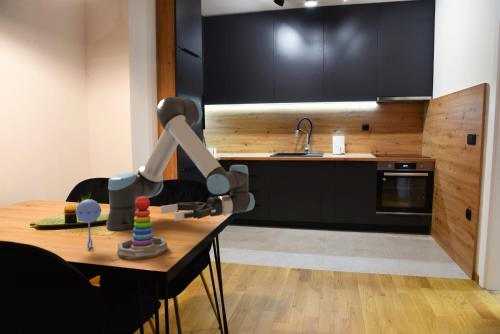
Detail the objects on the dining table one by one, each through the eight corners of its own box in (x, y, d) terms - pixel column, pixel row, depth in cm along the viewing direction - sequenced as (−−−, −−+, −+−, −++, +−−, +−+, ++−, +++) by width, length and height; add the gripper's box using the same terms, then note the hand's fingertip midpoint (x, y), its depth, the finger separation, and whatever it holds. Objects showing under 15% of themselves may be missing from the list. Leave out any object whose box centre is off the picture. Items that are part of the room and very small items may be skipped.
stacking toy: (148, 253, 126) (146, 199, 124) (126, 251, 128) (124, 198, 126) (158, 245, 134) (156, 194, 132) (138, 244, 136) (136, 194, 134)
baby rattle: (82, 244, 140) (80, 197, 138) (106, 243, 141) (103, 197, 139) (73, 252, 131) (70, 202, 130) (98, 251, 132) (96, 201, 130)
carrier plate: (106, 256, 126) (106, 248, 126) (138, 242, 142) (138, 234, 142) (147, 262, 120) (147, 253, 120) (176, 246, 136) (176, 238, 136)
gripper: (235, 221, 137) (181, 230, 125) (204, 209, 158) (156, 216, 146) (234, 201, 136) (180, 208, 124) (204, 192, 157) (155, 198, 145)
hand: (167, 213), depth 135 cm, fingers open, 13 cm apart
